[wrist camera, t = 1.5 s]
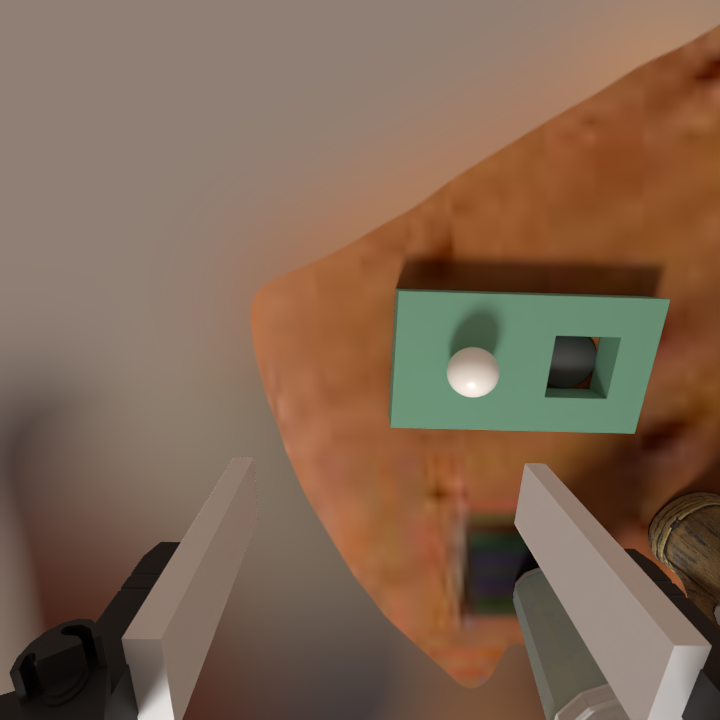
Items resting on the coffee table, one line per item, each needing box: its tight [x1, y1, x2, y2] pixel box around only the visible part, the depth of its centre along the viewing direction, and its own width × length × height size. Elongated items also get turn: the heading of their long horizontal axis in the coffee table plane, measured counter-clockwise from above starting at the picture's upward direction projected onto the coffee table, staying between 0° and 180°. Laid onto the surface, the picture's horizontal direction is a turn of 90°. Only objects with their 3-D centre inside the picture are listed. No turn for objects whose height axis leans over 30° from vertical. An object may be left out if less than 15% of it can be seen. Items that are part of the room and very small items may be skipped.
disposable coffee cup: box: [513, 568, 683, 720], centre depth 33 cm, size 11×11×15 cm
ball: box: [447, 347, 500, 398], centre depth 28 cm, size 4×4×4 cm
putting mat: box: [388, 288, 670, 434], centre depth 32 cm, size 22×12×2 cm, turn 88°
